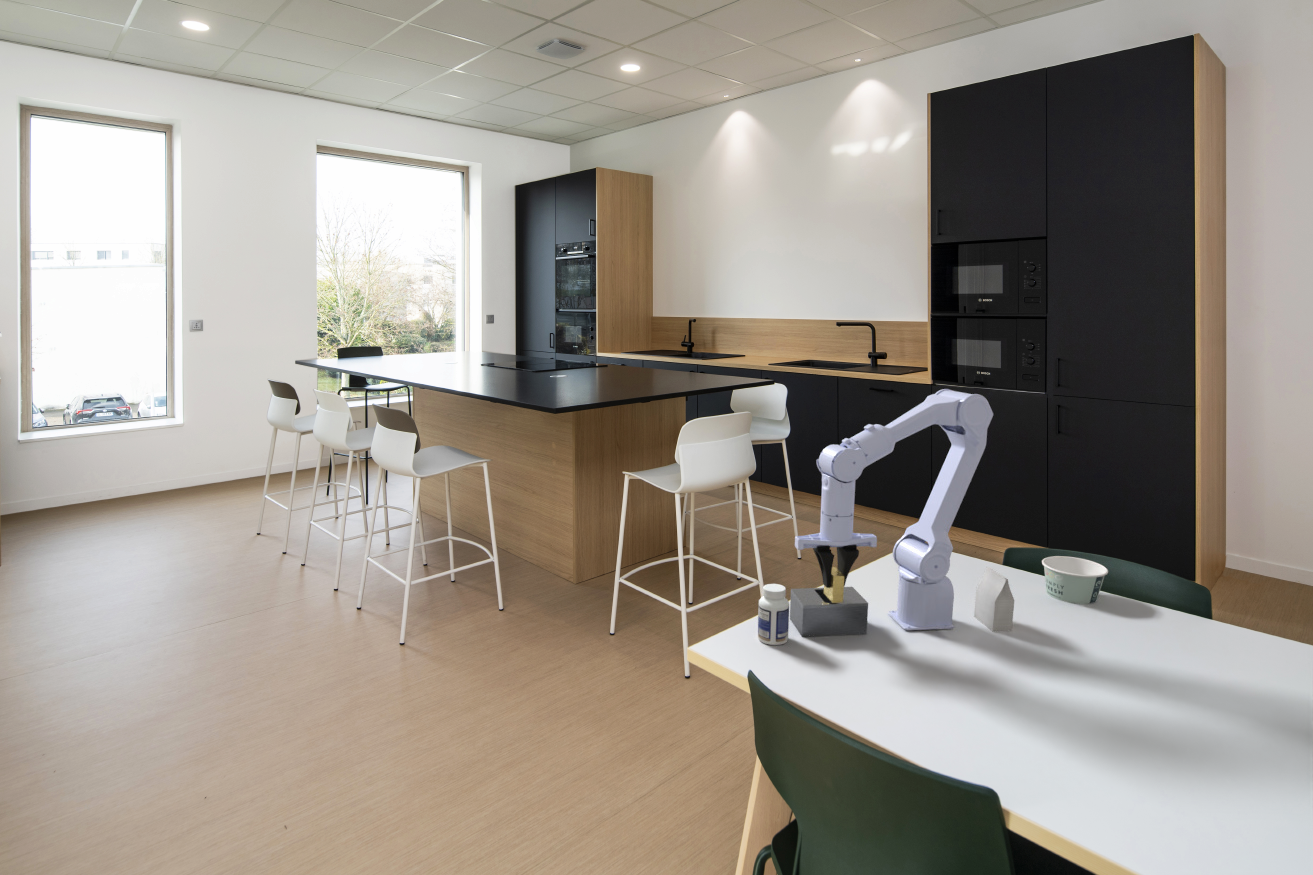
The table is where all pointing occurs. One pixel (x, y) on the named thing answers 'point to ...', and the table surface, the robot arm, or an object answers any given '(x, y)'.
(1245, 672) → the table surface
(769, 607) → the pill bottle
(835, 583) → the block
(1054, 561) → the food container
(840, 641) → the table surface
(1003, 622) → the white gabled box
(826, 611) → the grey slotted block
